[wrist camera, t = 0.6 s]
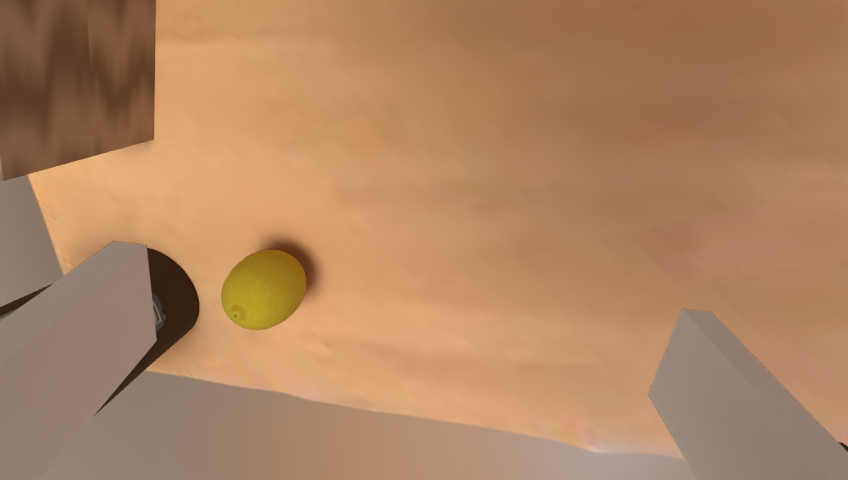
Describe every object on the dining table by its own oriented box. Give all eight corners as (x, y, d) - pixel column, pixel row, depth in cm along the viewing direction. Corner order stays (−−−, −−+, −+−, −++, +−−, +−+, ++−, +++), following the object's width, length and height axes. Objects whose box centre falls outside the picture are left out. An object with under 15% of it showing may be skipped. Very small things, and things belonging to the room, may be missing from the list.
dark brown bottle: (171, 358, 49) (-150, 632, 27) (90, 282, 48) (-318, 503, 26) (226, 303, 45) (-108, 578, 22) (137, 217, 43) (-311, 418, 21)
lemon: (259, 229, 41) (195, 273, 33) (322, 241, 40) (269, 288, 32) (263, 288, 43) (204, 340, 36) (323, 300, 42) (273, 357, 35)
